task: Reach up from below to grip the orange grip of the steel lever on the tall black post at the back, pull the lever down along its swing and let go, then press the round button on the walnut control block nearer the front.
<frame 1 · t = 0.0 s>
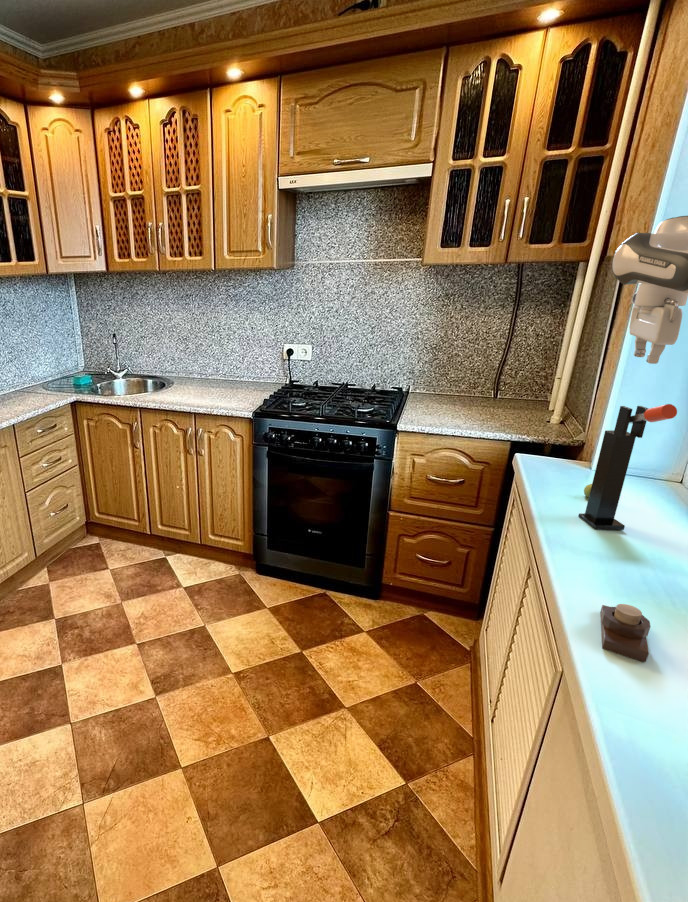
hand: (645, 359, 121), 42 cm above the worktop, tool pointing down, fingers open, 8 cm apart
control block: (621, 636, 94), on the worktop
post: (604, 526, 133), on the worktop
lime: (592, 500, 148), on the worktop
button: (627, 614, 93), point 5 cm above the worktop, slide at 0.1 cm
lever: (647, 416, 119), point 30 cm above the worktop, hinge at 25.0°
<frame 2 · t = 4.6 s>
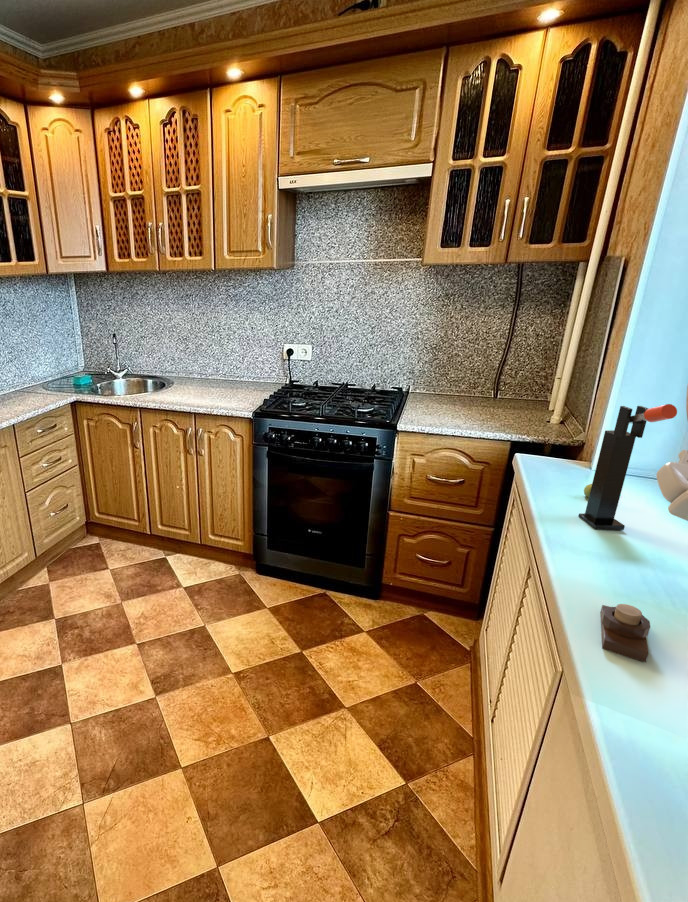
nothing on the worktop moved.
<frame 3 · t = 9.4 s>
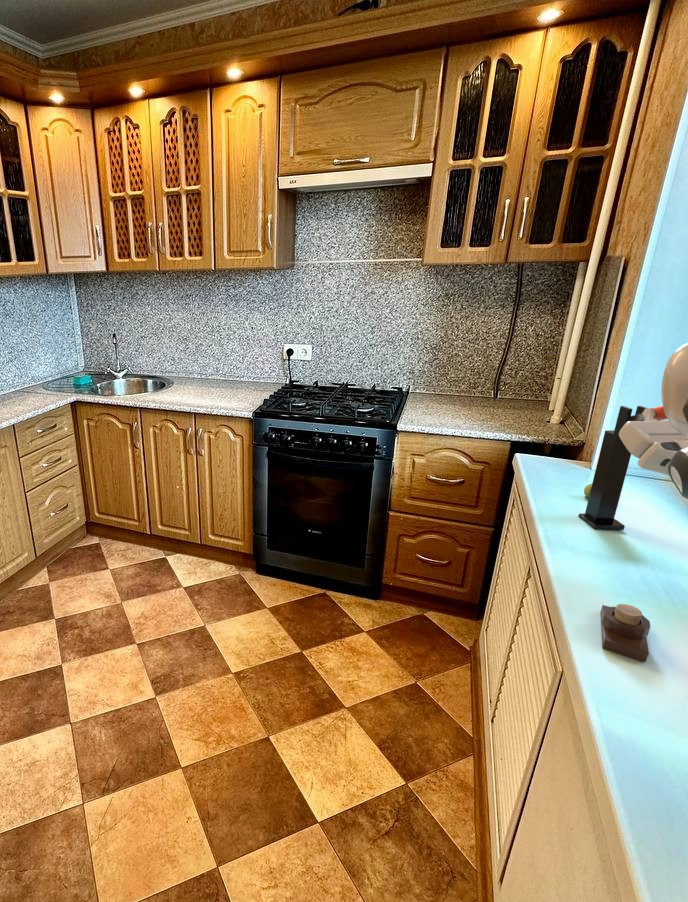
hand: (658, 410, 116), 32 cm above the worktop, tool pointing upward, fingers closed on lever, 3 cm apart
lever: (647, 416, 119), point 30 cm above the worktop, hinge at 25.0°, touching gripper
everything else where it was.
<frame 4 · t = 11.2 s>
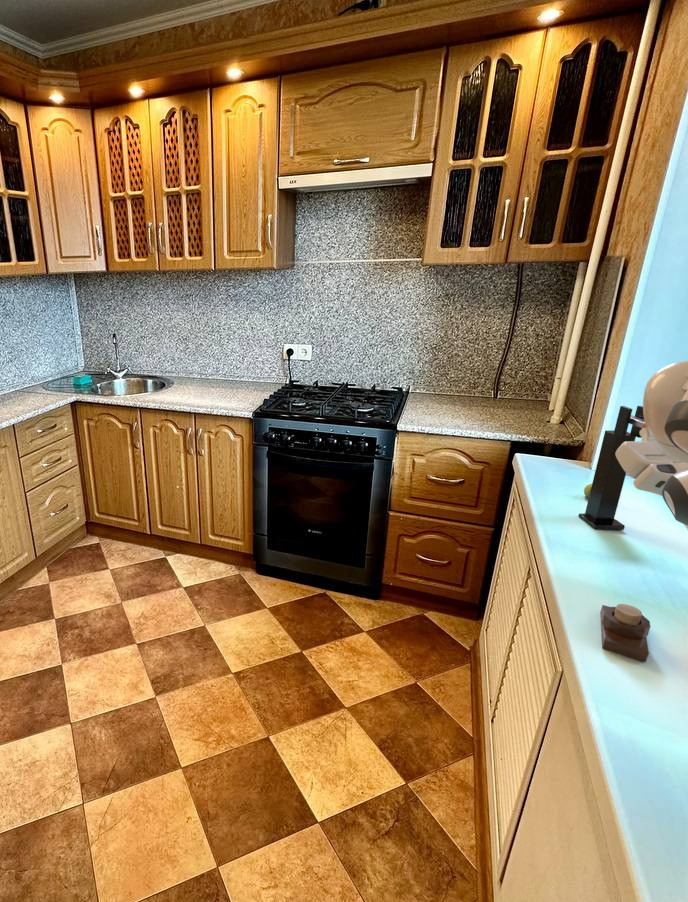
hand: (655, 429, 117), 28 cm above the worktop, tool pointing upward, fingers closed on lever, 3 cm apart
lever: (646, 424, 119), point 28 cm above the worktop, hinge at 1.3°, touching gripper
everything else where it was.
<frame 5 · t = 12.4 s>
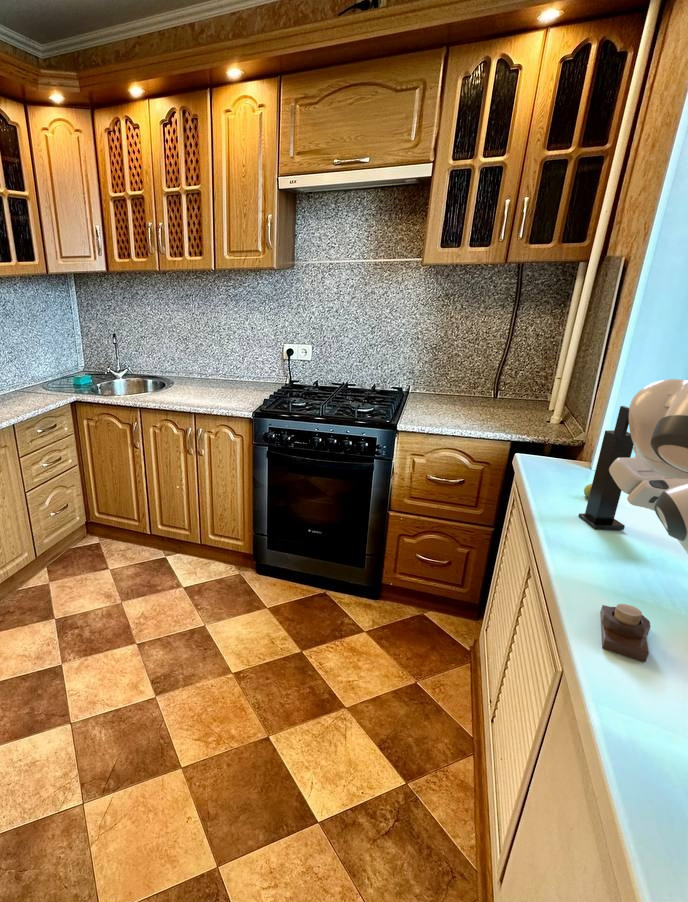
hand: (647, 446, 119), 24 cm above the worktop, tool pointing upward, fingers open, 3 cm apart
lever: (644, 430, 120), point 27 cm above the worktop, hinge at -16.7°
everything else where it was.
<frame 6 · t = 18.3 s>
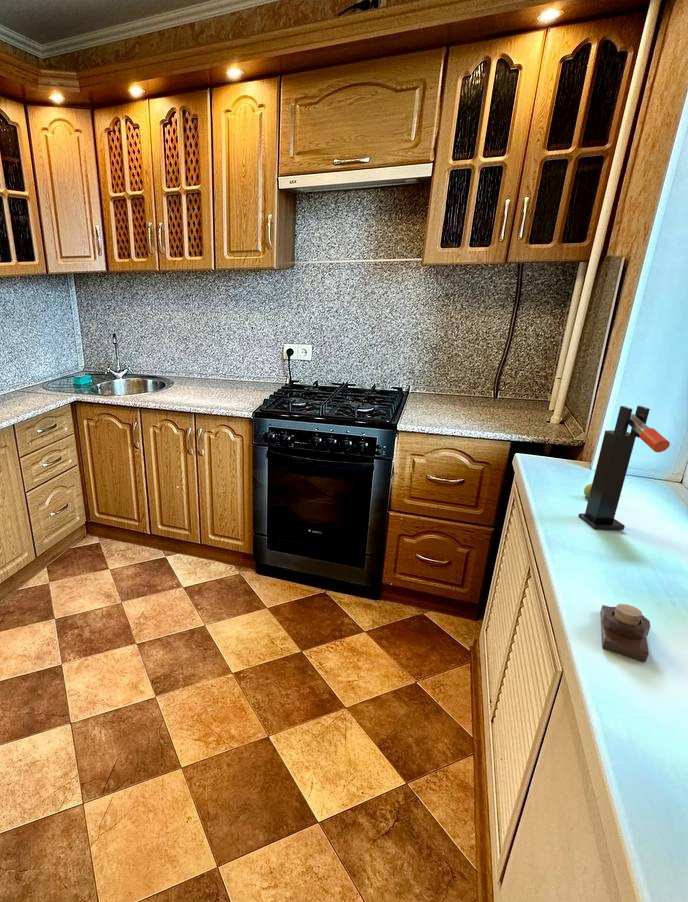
nothing on the worktop moved.
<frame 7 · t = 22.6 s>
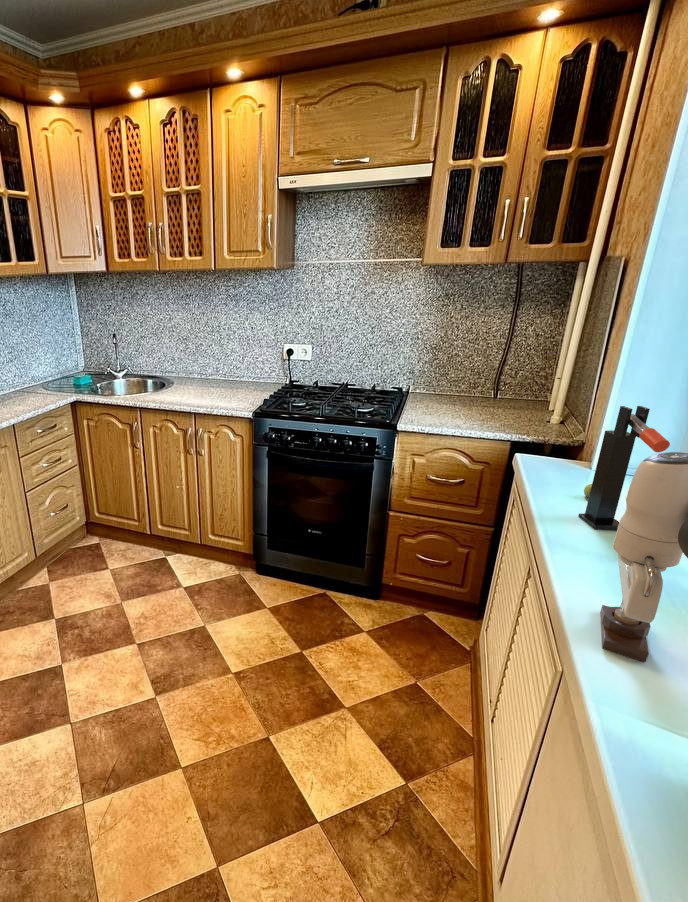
hand: (626, 614, 93), 5 cm above the worktop, tool pointing down, fingers closed, pressing on button
button: (626, 619, 93), point 4 cm above the worktop, slide at -0.9 cm, touching gripper
everything else where it was.
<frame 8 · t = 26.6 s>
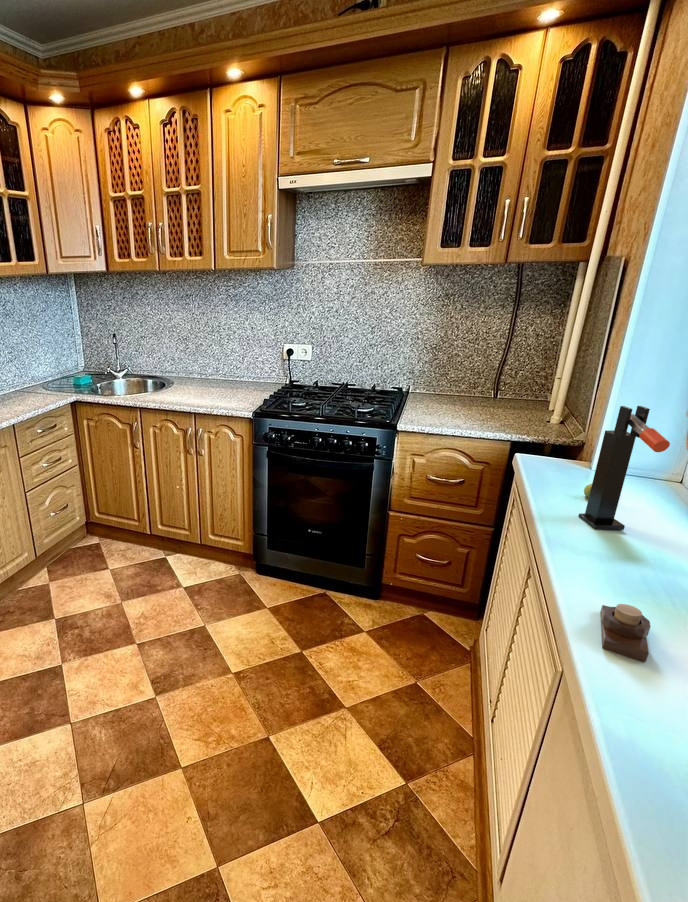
button: (627, 614, 93), point 5 cm above the worktop, slide at 0.1 cm
everything else where it was.
at the end: lever at -17° (first picture: +25°); button pushed in 1.3 cm at the most during the clip, back to where it started at the end; button slide at 0.1 cm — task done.
